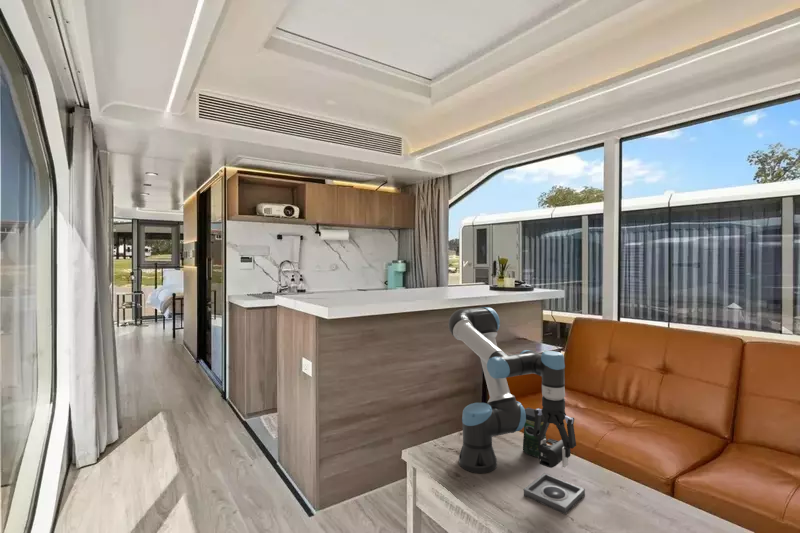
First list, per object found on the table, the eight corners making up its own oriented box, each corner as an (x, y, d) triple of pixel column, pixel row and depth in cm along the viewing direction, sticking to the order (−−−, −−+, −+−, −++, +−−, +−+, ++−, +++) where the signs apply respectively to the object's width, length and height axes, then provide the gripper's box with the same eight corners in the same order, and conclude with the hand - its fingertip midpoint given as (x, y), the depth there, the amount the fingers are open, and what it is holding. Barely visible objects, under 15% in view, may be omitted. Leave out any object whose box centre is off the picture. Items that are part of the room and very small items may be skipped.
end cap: (557, 471, 140) (557, 451, 140) (538, 464, 145) (537, 445, 145) (570, 460, 147) (570, 441, 147) (551, 454, 152) (551, 435, 152)
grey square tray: (523, 495, 147) (523, 489, 147) (544, 478, 157) (544, 472, 157) (565, 514, 136) (565, 507, 136) (584, 494, 146) (584, 488, 146)
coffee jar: (550, 453, 176) (549, 410, 175) (541, 460, 171) (540, 415, 170) (529, 445, 183) (528, 404, 182) (519, 452, 178) (519, 409, 177)
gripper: (521, 393, 150) (522, 455, 151) (577, 407, 135) (578, 476, 136) (532, 387, 155) (533, 448, 156) (587, 400, 140) (587, 467, 141)
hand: (554, 461), depth 146 cm, fingers closed on end cap, 7 cm apart
